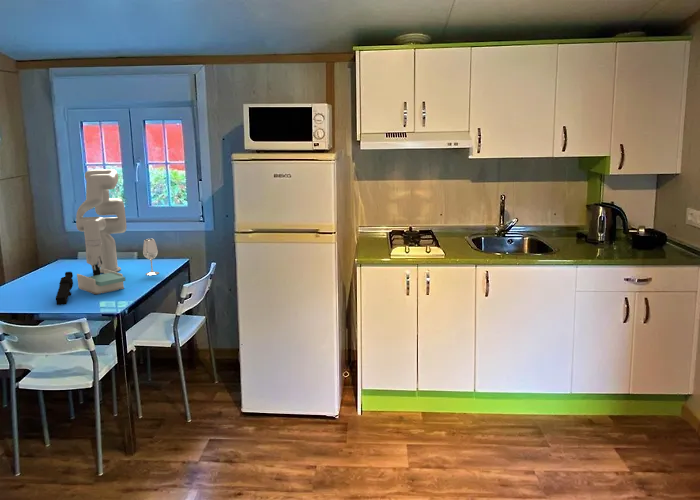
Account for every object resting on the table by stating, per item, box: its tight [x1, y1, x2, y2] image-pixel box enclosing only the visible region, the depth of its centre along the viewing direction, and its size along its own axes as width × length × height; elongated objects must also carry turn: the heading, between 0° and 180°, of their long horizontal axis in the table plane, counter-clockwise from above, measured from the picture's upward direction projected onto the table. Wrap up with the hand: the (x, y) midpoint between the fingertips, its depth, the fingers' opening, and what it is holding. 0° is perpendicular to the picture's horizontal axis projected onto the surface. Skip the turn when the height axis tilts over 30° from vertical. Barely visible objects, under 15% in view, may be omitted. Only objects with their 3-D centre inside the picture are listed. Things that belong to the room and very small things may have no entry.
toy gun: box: [55, 271, 74, 306], centre depth 298 cm, size 6×25×10 cm, turn 14°
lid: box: [88, 273, 126, 286], centre depth 310 cm, size 16×13×2 cm
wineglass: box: [142, 238, 160, 276], centre depth 343 cm, size 8×8×20 cm
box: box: [76, 269, 125, 296], centre depth 315 cm, size 20×15×8 cm
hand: (97, 276), depth 316 cm, fingers closed
